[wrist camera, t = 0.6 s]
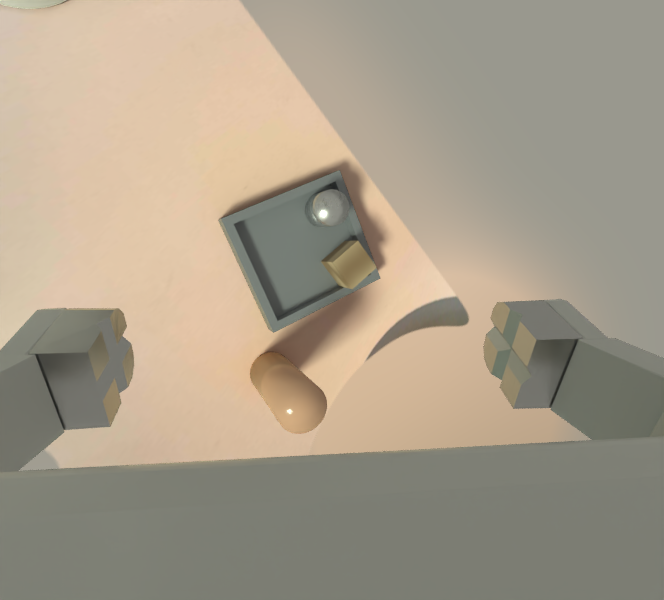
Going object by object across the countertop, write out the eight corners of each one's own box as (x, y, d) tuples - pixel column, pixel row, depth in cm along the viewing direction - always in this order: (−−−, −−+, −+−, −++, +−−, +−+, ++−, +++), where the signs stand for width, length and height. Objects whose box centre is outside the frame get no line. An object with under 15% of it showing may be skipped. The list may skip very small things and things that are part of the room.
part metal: (299, 200, 52) (310, 197, 48) (328, 188, 53) (341, 184, 49) (312, 232, 53) (324, 231, 49) (340, 219, 54) (354, 217, 50)
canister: (243, 364, 52) (268, 399, 40) (280, 344, 54) (315, 373, 42) (260, 399, 54) (289, 443, 42) (296, 379, 55) (334, 416, 43)
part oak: (320, 261, 53) (332, 262, 50) (344, 240, 54) (358, 240, 50) (339, 286, 55) (352, 289, 51) (362, 266, 55) (376, 267, 52)
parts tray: (218, 220, 49) (221, 218, 47) (332, 173, 54) (339, 169, 51) (268, 328, 53) (273, 332, 51) (371, 276, 57) (380, 278, 55)
